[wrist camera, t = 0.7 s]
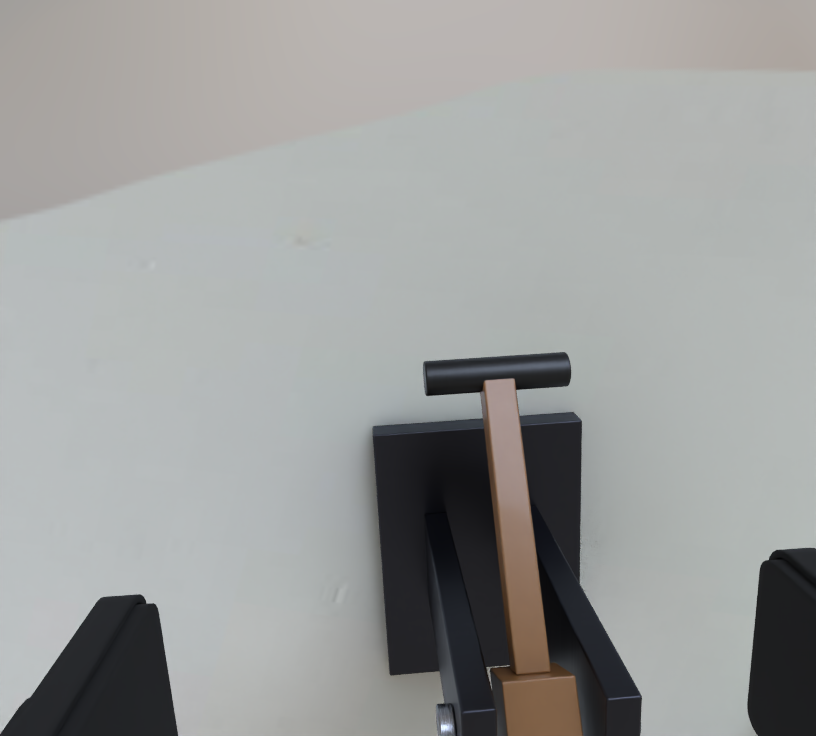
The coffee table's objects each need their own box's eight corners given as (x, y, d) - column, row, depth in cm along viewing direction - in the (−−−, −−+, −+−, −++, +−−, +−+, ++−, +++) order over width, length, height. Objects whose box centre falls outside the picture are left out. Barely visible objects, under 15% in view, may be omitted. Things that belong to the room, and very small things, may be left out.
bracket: (372, 426, 29) (376, 594, 17) (573, 411, 29) (724, 565, 17) (388, 658, 32) (402, 948, 20) (571, 642, 32) (697, 916, 20)
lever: (421, 371, 24) (425, 352, 22) (555, 362, 24) (572, 342, 22) (455, 767, 21) (463, 794, 18) (610, 752, 21) (638, 777, 19)
